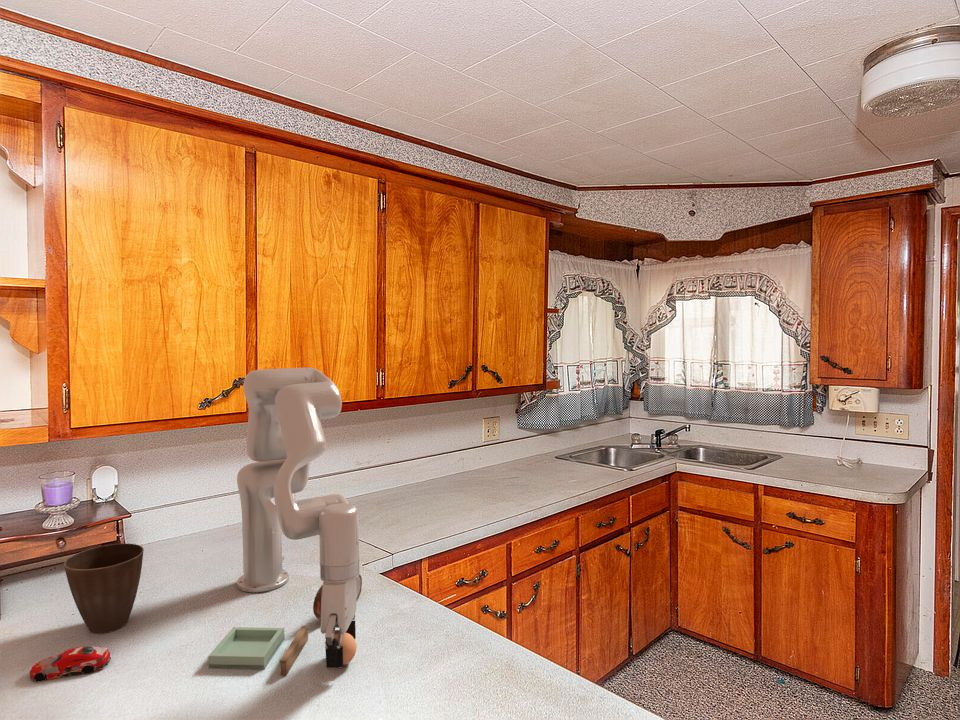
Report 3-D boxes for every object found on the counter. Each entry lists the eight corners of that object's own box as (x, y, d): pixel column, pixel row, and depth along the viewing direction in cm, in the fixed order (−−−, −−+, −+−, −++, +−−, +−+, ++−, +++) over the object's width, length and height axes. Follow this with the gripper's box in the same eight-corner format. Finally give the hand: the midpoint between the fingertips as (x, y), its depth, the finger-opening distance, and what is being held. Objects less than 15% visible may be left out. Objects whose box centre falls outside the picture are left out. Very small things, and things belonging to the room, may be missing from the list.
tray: (233, 638, 128) (233, 627, 128) (284, 639, 127) (284, 627, 127) (208, 668, 117) (208, 655, 117) (264, 669, 117) (263, 656, 116)
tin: (354, 597, 147) (353, 563, 147) (364, 599, 146) (364, 566, 145) (312, 625, 134) (311, 588, 133) (323, 628, 132) (322, 591, 132)
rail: (302, 639, 127) (302, 626, 127) (308, 639, 127) (307, 626, 127) (280, 675, 114) (279, 660, 114) (286, 675, 114) (286, 660, 114)
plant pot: (65, 650, 123) (61, 575, 122) (69, 620, 136) (65, 551, 135) (148, 631, 131) (145, 559, 130) (144, 603, 144) (141, 538, 143)
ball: (330, 654, 122) (330, 626, 121) (359, 655, 121) (359, 626, 121) (321, 671, 116) (321, 641, 115) (352, 672, 115) (352, 642, 115)
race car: (24, 686, 112) (23, 665, 112) (36, 670, 117) (35, 650, 117) (104, 673, 116) (103, 653, 115) (113, 658, 121) (112, 639, 121)
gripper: (333, 551, 126) (334, 630, 127) (306, 587, 109) (308, 678, 110) (368, 551, 126) (369, 630, 127) (347, 588, 109) (349, 679, 110)
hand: (341, 652), depth 118 cm, fingers open, 9 cm apart
